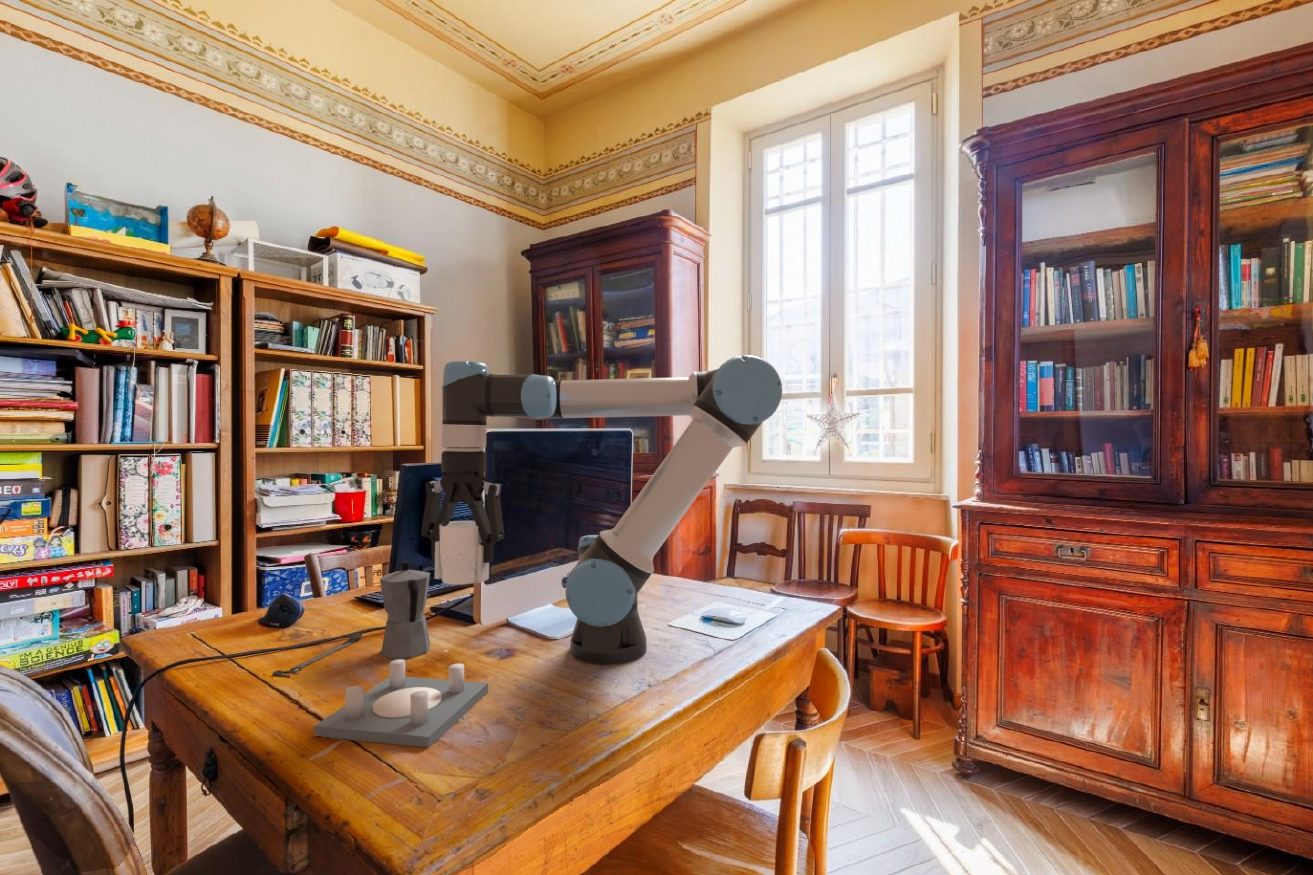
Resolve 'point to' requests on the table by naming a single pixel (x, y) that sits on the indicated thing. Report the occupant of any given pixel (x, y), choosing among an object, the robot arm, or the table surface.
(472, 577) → the white cup
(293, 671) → the tactical tomahawk
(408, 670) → the table surface
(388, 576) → the coffeepot
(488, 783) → the table surface
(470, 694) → the peg stand
